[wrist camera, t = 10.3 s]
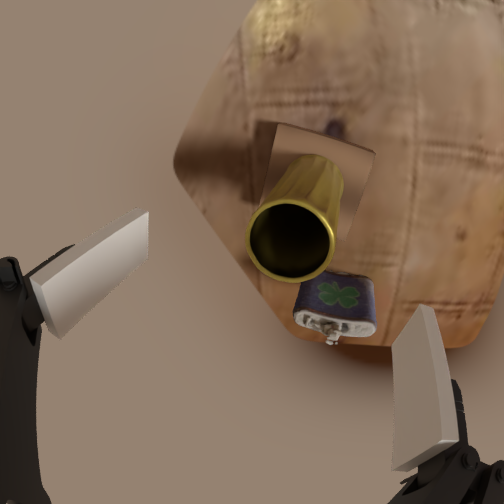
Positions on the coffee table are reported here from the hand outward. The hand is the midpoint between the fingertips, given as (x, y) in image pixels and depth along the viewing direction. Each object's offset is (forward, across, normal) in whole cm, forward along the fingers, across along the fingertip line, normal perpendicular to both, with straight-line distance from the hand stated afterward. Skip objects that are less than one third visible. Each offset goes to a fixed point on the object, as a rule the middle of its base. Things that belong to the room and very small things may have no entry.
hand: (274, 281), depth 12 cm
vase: (+18, 0, 0) cm, 19 cm away
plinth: (+21, 0, 0) cm, 21 cm away
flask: (+22, +6, -12) cm, 26 cm away
